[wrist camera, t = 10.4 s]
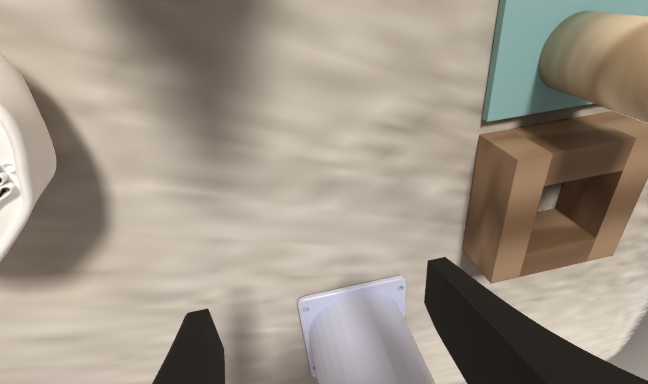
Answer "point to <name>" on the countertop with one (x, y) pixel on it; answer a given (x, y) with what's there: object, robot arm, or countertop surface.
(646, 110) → the maple plug
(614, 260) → the countertop surface
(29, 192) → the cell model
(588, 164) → the walnut block
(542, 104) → the teal mat
